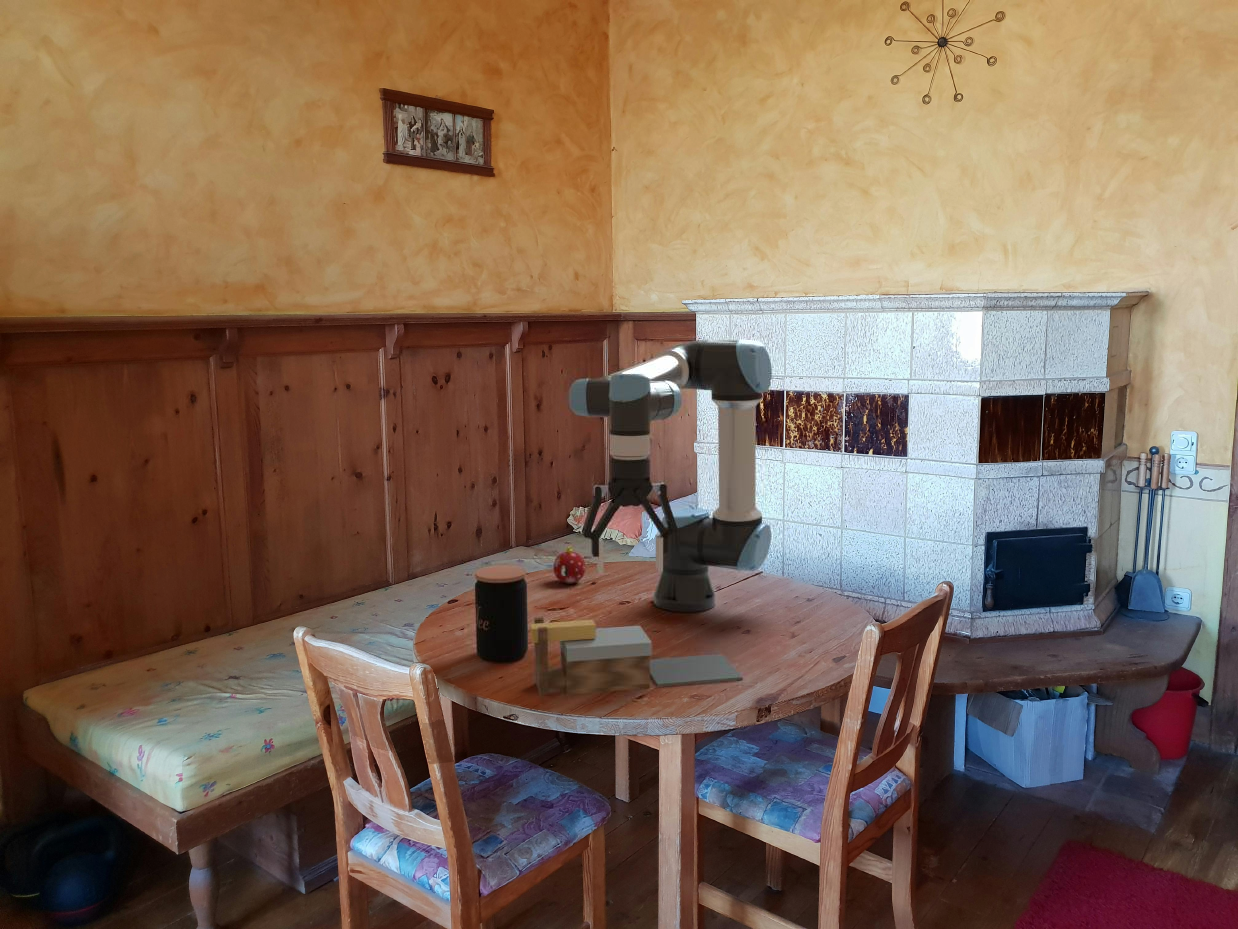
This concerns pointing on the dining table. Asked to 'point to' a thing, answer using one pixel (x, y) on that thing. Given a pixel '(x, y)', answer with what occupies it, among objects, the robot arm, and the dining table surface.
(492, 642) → the coffee jar
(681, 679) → the mat
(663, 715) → the dining table surface
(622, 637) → the lid
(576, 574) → the christmas ornament
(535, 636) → the yellow block
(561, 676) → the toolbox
